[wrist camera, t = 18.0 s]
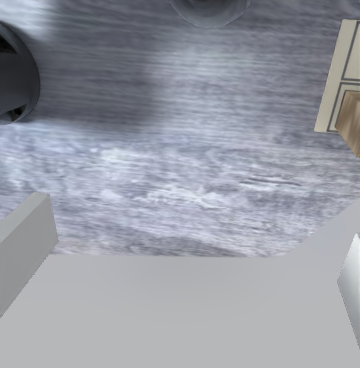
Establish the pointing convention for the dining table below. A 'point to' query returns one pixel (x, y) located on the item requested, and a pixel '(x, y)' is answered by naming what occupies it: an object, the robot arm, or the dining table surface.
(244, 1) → the pump dispenser
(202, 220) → the dining table surface
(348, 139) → the tall wooden block
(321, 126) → the tag card
